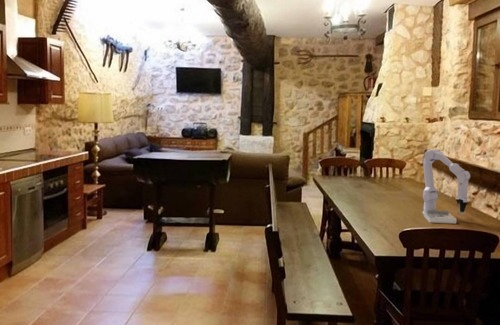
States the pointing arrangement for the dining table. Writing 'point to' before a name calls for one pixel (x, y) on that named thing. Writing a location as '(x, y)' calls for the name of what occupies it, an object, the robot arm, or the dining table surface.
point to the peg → (460, 212)
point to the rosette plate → (439, 217)
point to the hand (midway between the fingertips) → (461, 211)
